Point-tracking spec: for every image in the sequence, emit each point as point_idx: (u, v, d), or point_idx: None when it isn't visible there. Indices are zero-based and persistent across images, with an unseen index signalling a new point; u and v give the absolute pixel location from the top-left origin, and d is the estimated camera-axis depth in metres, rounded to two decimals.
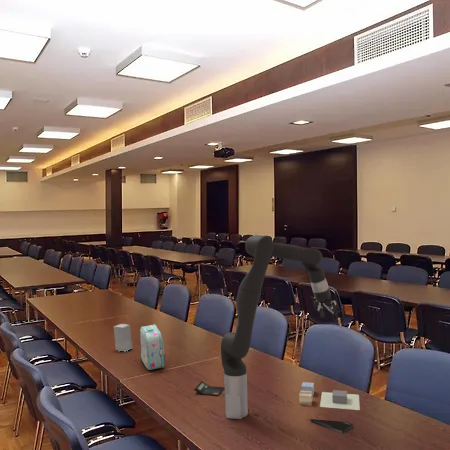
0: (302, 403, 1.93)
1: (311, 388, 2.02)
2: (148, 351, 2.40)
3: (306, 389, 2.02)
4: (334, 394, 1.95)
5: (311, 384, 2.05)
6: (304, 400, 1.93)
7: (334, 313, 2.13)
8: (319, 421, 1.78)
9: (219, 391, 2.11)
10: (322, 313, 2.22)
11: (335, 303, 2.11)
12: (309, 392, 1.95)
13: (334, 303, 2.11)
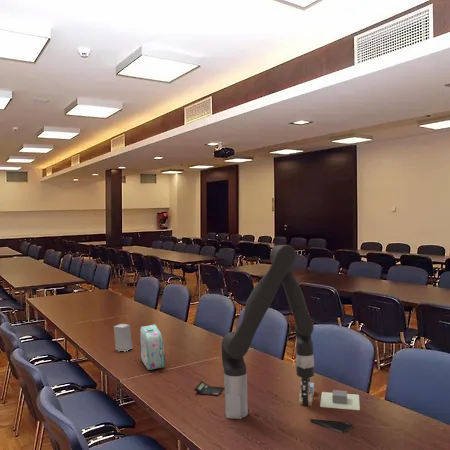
0: (302, 403, 1.93)
1: (311, 388, 2.02)
2: (148, 351, 2.40)
3: None
4: (334, 394, 1.95)
5: (311, 384, 2.05)
6: None
7: None
8: (319, 421, 1.78)
9: (219, 391, 2.11)
10: None
11: (304, 388, 1.89)
12: (309, 392, 1.95)
13: (302, 388, 1.89)
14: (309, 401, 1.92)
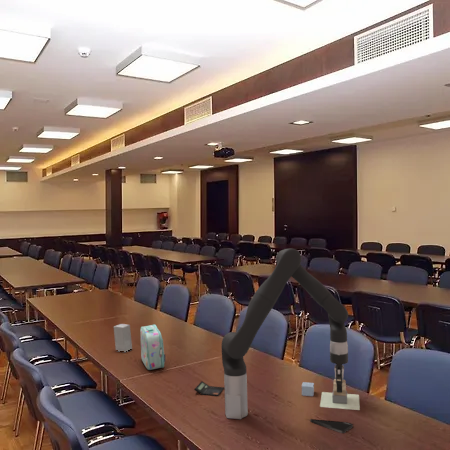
0: (336, 391, 1.94)
1: (311, 388, 2.02)
2: (148, 351, 2.40)
3: (306, 389, 2.02)
4: None
5: (311, 384, 2.05)
6: None
7: None
8: (319, 421, 1.78)
9: (219, 391, 2.11)
10: None
11: (339, 372, 1.89)
12: (343, 381, 1.96)
13: (337, 371, 1.90)
14: (343, 390, 1.93)
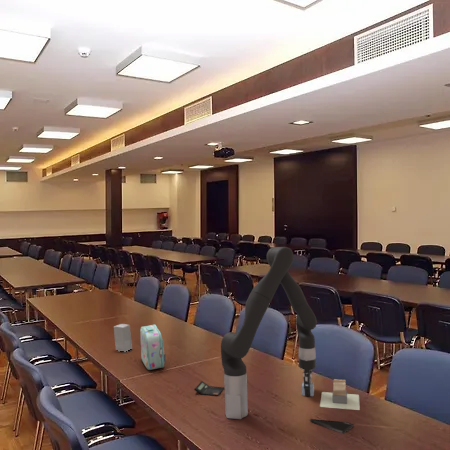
0: (336, 391, 1.94)
1: (311, 388, 2.02)
2: (148, 351, 2.40)
3: None
4: None
5: (311, 384, 2.05)
6: (338, 388, 1.94)
7: None
8: (319, 421, 1.78)
9: (219, 391, 2.11)
10: None
11: (306, 380, 1.98)
12: (343, 381, 1.96)
13: (305, 379, 1.98)
14: (343, 390, 1.93)
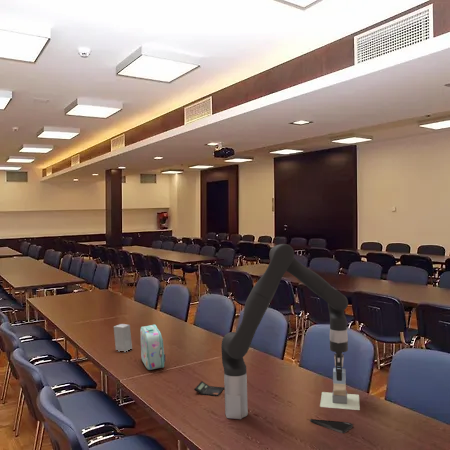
0: (336, 391, 1.94)
1: (343, 374, 1.93)
2: (148, 351, 2.40)
3: None
4: None
5: (343, 370, 1.96)
6: (338, 388, 1.94)
7: None
8: (319, 421, 1.78)
9: (219, 391, 2.11)
10: None
11: (338, 360, 1.89)
12: None
13: (337, 359, 1.89)
14: (343, 390, 1.93)
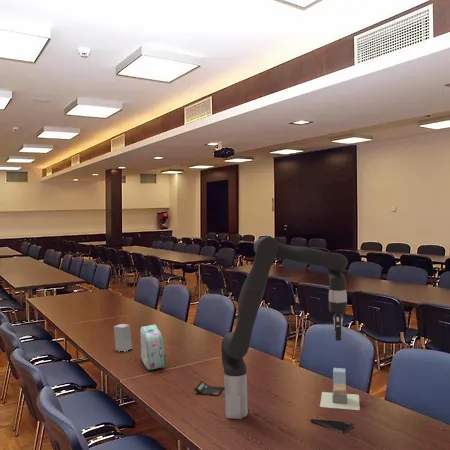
0: (336, 391, 1.94)
1: (343, 374, 1.93)
2: (148, 351, 2.40)
3: (338, 375, 1.94)
4: None
5: (343, 370, 1.96)
6: (338, 388, 1.94)
7: None
8: (319, 421, 1.78)
9: (219, 391, 2.11)
10: None
11: (338, 319, 1.89)
12: None
13: (336, 319, 1.89)
14: (343, 390, 1.93)
